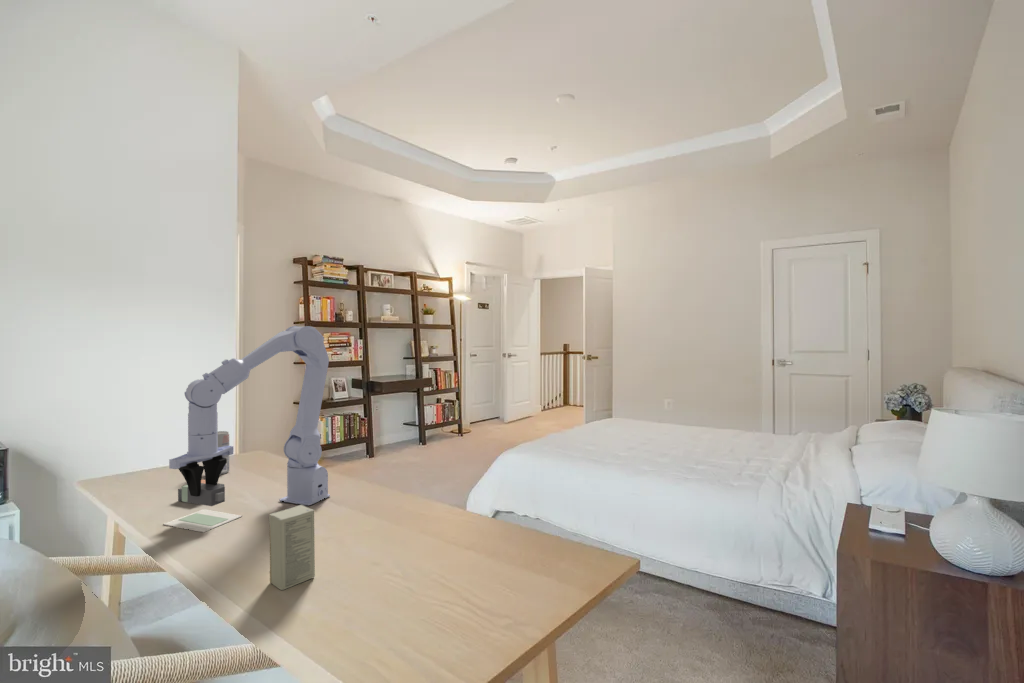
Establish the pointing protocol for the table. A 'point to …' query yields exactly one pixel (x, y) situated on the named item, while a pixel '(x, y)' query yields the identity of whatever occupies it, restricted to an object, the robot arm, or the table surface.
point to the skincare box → (291, 546)
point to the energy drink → (222, 441)
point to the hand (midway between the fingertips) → (203, 493)
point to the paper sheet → (202, 520)
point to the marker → (205, 495)
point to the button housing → (181, 493)
